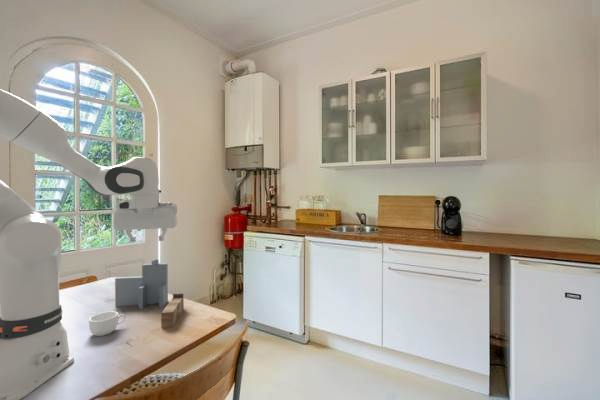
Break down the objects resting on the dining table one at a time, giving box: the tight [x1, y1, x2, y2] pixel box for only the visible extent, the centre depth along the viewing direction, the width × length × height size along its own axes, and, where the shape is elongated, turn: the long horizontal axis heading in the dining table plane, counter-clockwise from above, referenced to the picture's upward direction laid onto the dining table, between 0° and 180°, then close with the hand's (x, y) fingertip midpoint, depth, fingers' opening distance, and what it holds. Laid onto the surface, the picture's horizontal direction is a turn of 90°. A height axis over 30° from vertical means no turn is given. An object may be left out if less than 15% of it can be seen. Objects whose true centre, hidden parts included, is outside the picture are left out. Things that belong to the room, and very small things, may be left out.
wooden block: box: [160, 292, 185, 329], centre depth 102 cm, size 16×4×6 cm, turn 9°
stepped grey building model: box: [114, 258, 169, 309], centre depth 113 cm, size 6×19×18 cm, turn 99°
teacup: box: [88, 310, 126, 337], centre depth 92 cm, size 10×8×5 cm
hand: (147, 241), depth 102 cm, fingers open, 8 cm apart
